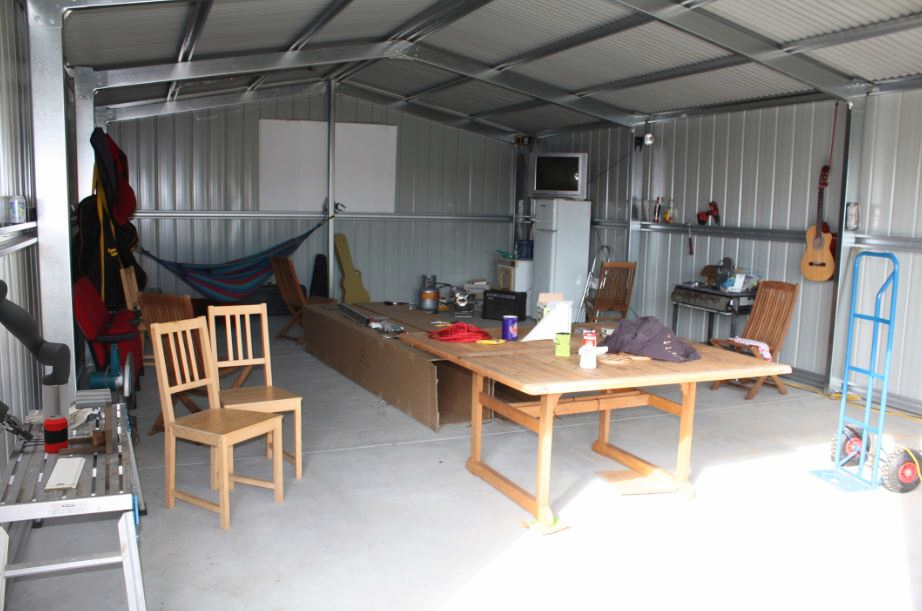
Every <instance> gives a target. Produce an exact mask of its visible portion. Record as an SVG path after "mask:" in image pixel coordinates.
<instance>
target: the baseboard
mask: <svg viewBox="0 0 922 611" xmlns="http://www.w3.org/2000/svg"><path fill="white" fill-rule="evenodd" d="M86 461H87V458H84V457H82V456H81V457H79V456H78V457H69V458H65V457H64V458H57V461H56V464H55V466H54V468H53V470H52V472H51V475H50V476H49V478H48V481H47V483H46V485H44V486H43V487H44V492H45V491H48V492H54V491H53V490H61V491H67V490H66V489H74V488H76V489H78V488H80V486H78V484H79V480H80V477H81V475H82V472H83V468H84V466H85V462H86ZM76 485H77V486H76ZM74 490H75V489H74Z"/></svg>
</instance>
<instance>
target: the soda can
mask: <svg viewBox="0 0 922 611" xmlns="http://www.w3.org/2000/svg"><path fill="white" fill-rule="evenodd" d="M43 435H44V436H43V441H44V442H43V443H44V444H43V445H44V448H43V449H44V452H46V453H47V454H59V449H65V448H69V445H68V439H69V426H68V420H67V419H66V418H65V417H64V416H61V415H56V416H50V417H47V419H46V420H45V421H44V427H43Z"/></svg>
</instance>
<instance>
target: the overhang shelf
mask: <svg viewBox="0 0 922 611" xmlns="http://www.w3.org/2000/svg"><path fill="white" fill-rule="evenodd" d="M112 401H113V400H112V393H111V389H110V388H99V389H86V390H85V389H83V390H82V389H81V390H75V402H74V406H75V410H81V409H82V410H85V409H97V408H98V409H99V408H104V430H102V429H92V436H89V437H75V438H68V446H71V445H81V444H92V445H89V446H77V447H68V448H65V449H59V453H58V456H63V455H64V456H65V455H77V454H88V453H98V452H99V453H100V452H105V454H106V455H109V453H112V454H113V402H112Z"/></svg>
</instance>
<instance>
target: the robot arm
mask: <svg viewBox="0 0 922 611" xmlns="http://www.w3.org/2000/svg"><path fill="white" fill-rule="evenodd" d="M8 288H9V287H8V285H7V283H6V282H5V281H4V280H3V279H1V278H0V324H1V325H2V326H3V327H4V328H5V329H6V330H8V332H9V333H10V334H11V335H12V336H14V337H15V339H17V340H18V341H19V342H20V344H22V345H23V346H24V347H25V348H26V349H27V350H28V351H29V352H30V354H31V355H32V357H34V359H35V360H36V362H38V363H39V364H40V365H43V366H47V367H52V368H51V369H52V371H51V373H48V374H45V375H42V378H41V395H42V396H41V397H42V398H41V400H42V427H43V426H44V421H45V420H46V419H47V417H50V416H56V415H61V416H64V417H65V418H66V419H67V420H68V423H69V424H70V398H69V397H70V394H69V393H70V391H69V379H70V375H71V361H72V359H71V358H72V357H71V354H72V353H71V350H70V347H69V345H68V344H67V343H61V342H52V341H51V342H50V341H48V340H46V339H44V338H43V336H41V335H40V334H39V333H40V326H39V323H38V321H37V320H36V318H35V317H34V316H33V315H31V313H30V312H28V311H27V310H26V309H25V308H24V307H22V306H21V305H19V304H17V303H15V302H14V301H12V300H10V299H9V298H7V295H8ZM9 410H10V406H8V405H7V404H6V403H4V402H3V401H2V400H0V424H1V426H2V427H3V428H4V430H5V431H6V432H8V433H11V434H12V435H15V436H16V437H17V436H20V437H22V438H23V439H24V440H25V441H27V442H31V441H32V440H33V439H34V435H33V434H32V433H31V432H29V430H27V429H26V428H25V425H24V424H23V423H22V422H21V421H20V420H19V419H18V418H17V417H16V416H15V415H13V414H9V413H8V411H9Z"/></svg>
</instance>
